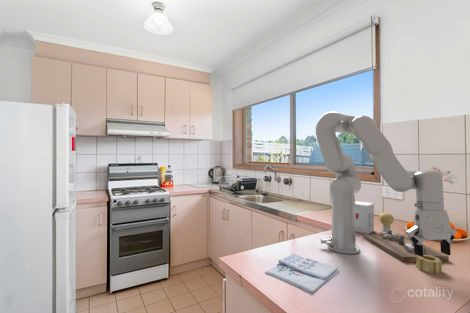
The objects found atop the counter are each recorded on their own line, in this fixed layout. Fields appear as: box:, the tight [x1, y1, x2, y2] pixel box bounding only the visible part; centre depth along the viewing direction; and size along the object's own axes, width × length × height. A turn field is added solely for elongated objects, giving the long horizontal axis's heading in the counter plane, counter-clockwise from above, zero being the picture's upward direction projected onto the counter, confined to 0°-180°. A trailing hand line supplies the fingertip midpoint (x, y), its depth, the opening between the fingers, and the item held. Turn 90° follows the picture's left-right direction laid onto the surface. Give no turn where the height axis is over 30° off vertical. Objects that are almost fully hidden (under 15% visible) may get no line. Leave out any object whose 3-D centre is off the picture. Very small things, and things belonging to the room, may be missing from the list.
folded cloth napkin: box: [264, 253, 340, 295], centre depth 84 cm, size 19×20×2 cm
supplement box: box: [355, 200, 375, 235], centre depth 129 cm, size 9×9×15 cm
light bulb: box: [378, 212, 395, 232], centre depth 128 cm, size 6×6×10 cm
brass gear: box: [415, 255, 443, 275], centre depth 86 cm, size 7×7×4 cm
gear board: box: [363, 229, 450, 263], centre depth 105 cm, size 18×26×6 cm
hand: (432, 254), depth 85 cm, fingers open, 9 cm apart
